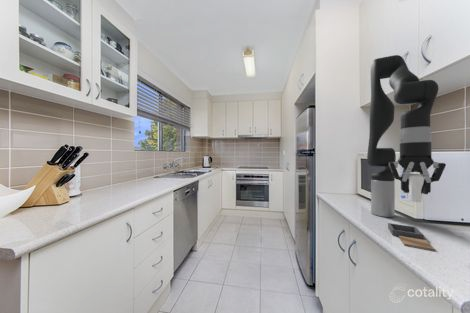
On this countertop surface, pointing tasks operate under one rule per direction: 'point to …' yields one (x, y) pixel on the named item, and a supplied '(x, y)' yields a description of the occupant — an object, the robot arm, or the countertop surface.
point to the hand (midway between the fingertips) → (415, 192)
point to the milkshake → (415, 187)
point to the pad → (416, 243)
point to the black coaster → (410, 229)
